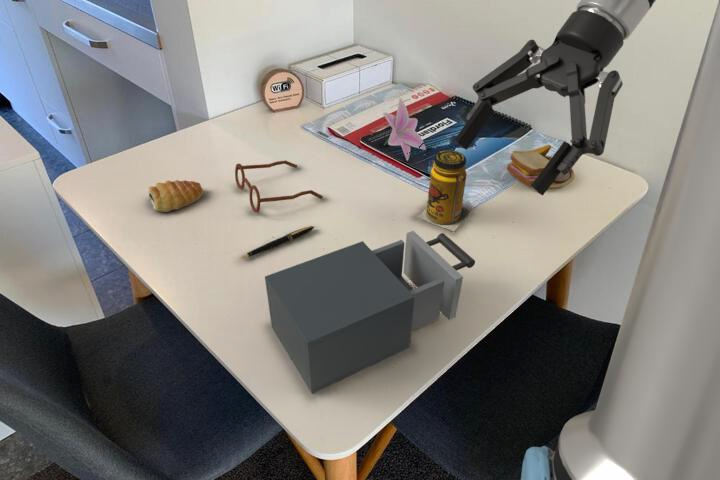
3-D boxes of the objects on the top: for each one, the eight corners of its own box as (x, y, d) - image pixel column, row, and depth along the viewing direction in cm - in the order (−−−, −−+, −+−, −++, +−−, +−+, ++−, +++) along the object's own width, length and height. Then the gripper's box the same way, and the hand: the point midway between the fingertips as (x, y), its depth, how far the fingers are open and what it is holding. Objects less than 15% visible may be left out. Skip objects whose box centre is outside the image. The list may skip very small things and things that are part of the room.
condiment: (416, 218, 93) (422, 159, 85) (439, 196, 98) (446, 139, 91) (453, 232, 90) (462, 172, 82) (474, 209, 95) (485, 151, 88)
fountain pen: (240, 264, 83) (239, 256, 82) (237, 260, 84) (236, 252, 83) (316, 231, 90) (316, 224, 89) (312, 227, 90) (312, 221, 90)
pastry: (196, 184, 101) (193, 167, 98) (209, 202, 96) (205, 184, 94) (147, 199, 97) (142, 181, 94) (157, 217, 92) (152, 200, 90)
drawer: (431, 261, 82) (435, 222, 78) (478, 307, 75) (487, 266, 70) (332, 301, 75) (331, 260, 71) (373, 356, 68) (375, 314, 63)
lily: (377, 170, 107) (402, 138, 101) (355, 128, 112) (377, 95, 105) (420, 171, 115) (445, 141, 108) (397, 131, 119) (420, 100, 113)
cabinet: (361, 290, 78) (362, 240, 72) (409, 347, 70) (414, 296, 64) (271, 327, 73) (264, 276, 67) (311, 394, 64) (307, 343, 58)
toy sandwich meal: (585, 187, 101) (592, 166, 98) (522, 196, 99) (527, 175, 96) (552, 156, 111) (557, 136, 108) (493, 163, 108) (497, 143, 105)
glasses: (234, 183, 101) (231, 160, 98) (297, 167, 106) (295, 145, 103) (257, 218, 92) (254, 195, 89) (324, 199, 97) (323, 176, 94)
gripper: (699, 74, 61) (583, 222, 64) (531, 17, 76) (445, 139, 80) (693, 38, 55) (565, 203, 58) (513, -16, 70) (420, 117, 74)
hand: (496, 166), depth 69 cm, fingers open, 13 cm apart
